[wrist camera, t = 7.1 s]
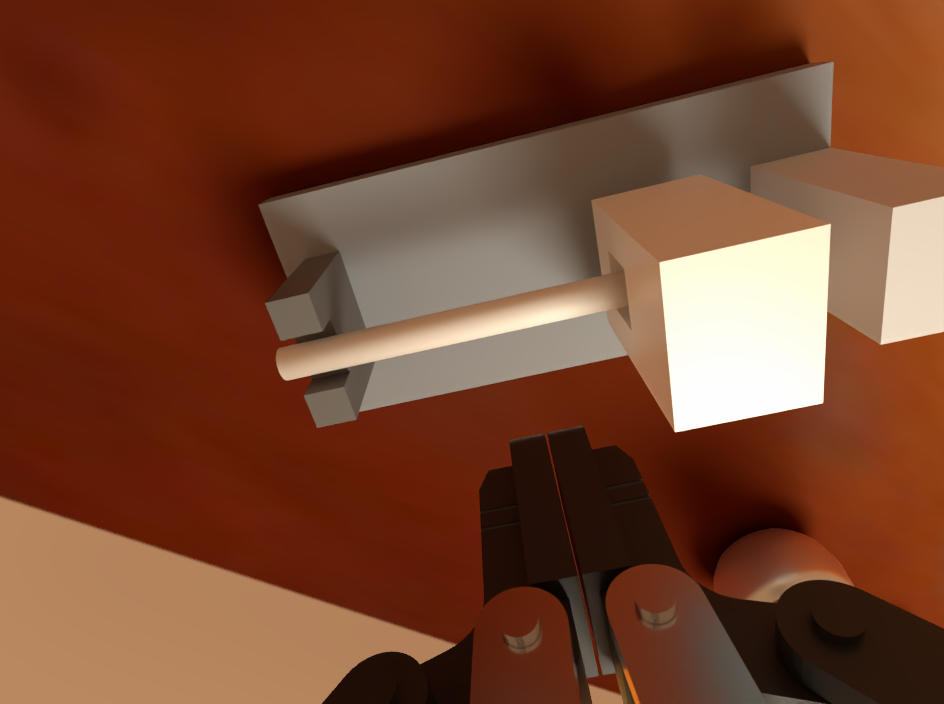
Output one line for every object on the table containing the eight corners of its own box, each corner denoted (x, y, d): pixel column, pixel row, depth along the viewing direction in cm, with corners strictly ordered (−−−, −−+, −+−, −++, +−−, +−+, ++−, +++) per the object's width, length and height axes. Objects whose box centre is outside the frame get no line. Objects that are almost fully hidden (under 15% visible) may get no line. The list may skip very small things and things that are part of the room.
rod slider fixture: (269, 197, 23) (158, 263, 15) (810, 62, 22) (1039, 49, 13) (347, 399, 28) (294, 540, 19) (804, 301, 26) (974, 410, 17)
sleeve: (590, 199, 21) (659, 262, 13) (700, 174, 20) (830, 223, 13) (608, 322, 23) (674, 432, 16) (707, 300, 22) (823, 403, 15)
